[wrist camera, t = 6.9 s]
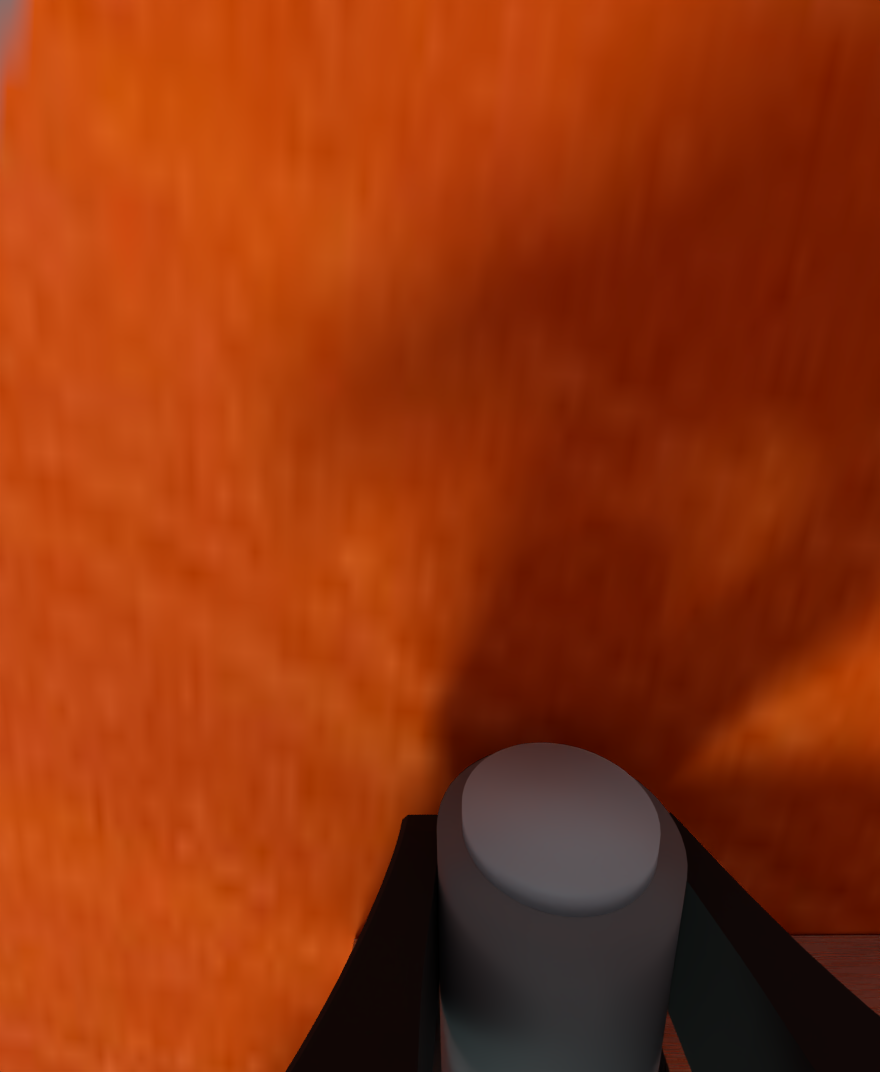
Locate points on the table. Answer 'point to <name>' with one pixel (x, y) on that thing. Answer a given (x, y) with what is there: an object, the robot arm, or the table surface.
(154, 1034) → the table surface
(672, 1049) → the housing
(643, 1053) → the cartridge
